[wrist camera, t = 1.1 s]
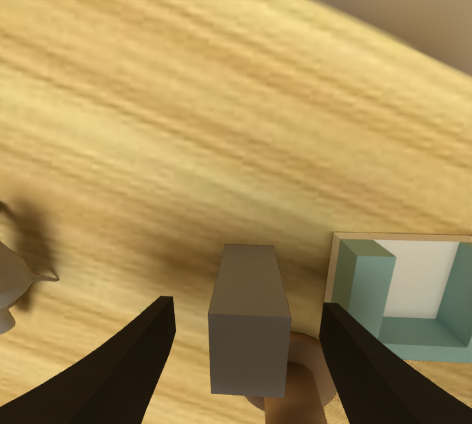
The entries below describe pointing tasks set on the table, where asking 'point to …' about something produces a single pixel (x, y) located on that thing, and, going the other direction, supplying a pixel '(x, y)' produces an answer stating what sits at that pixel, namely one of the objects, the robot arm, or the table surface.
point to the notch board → (407, 291)
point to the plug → (249, 324)
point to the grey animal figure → (13, 283)
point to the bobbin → (301, 386)
